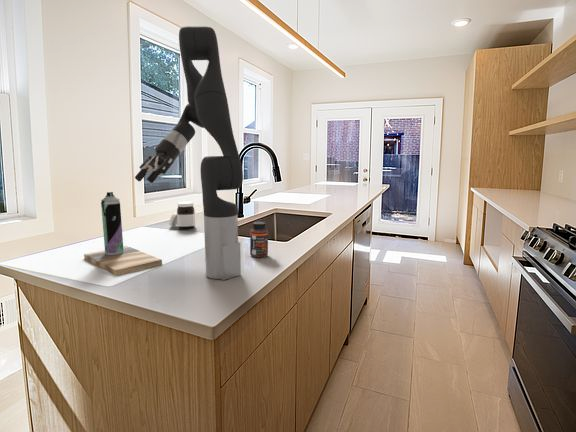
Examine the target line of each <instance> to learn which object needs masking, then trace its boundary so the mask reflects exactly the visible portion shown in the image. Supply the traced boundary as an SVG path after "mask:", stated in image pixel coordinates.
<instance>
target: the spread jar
mask: <svg viewBox="0 0 576 432" xmlns="http://www.w3.org/2000/svg"><path fill="white" fill-rule="evenodd" d="M194 207H195V206H194V202H192V201H179V202H177V209H176V212H174V213H172V215H171V217H170V218H169V219H170V220H169V222H168V224H169V226H170V227H171V228H175V227H176V226H177V229H178V230H180V231H181V230H182V231H185V230H186V231H187V230H188V231H189V230H190V231H191V230H193V229H195V228H196V216H195V215H196V213H195V212H196V211H195V208H194Z"/></svg>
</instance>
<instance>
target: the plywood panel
mask: <svg viewBox="0 0 576 432" xmlns="http://www.w3.org/2000/svg"><path fill="white" fill-rule="evenodd" d="M123 250H124V252H123V253H121V254H118V255H106V254H105V249H103V250H99V251H94V252H89V253H83V256H84V258H83V259H84V260H87V261H88V262H90V263H92V264H94V265H96V266H98V267H100V268H102V269H103V270H106V271H107V272H109V273H111V274H112V275H115V276H120V275H123V274H127V273H128V274H129V273H132V272H137V271H140V270H144V269H149V268H152V267H156V266H161V264H162V265H163V260H162V259H161V258H158V257H156V256H155V255H154V256H153V255H151V254H148V253H146V252H144V251H141V250H140V249H139V250H138V249H136V248H133V247H131V246H127V245H126V246H123Z"/></svg>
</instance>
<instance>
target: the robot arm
mask: <svg viewBox="0 0 576 432" xmlns="http://www.w3.org/2000/svg"><path fill="white" fill-rule="evenodd" d="M178 32H179V33H178V43H179V44H178V45H179V52H180V57H181V64H182V68H183V73H184V78H185V83H186V90H187V91H186V93H187V104H186V105H185V106H184V109H183V112H182V114H181V117H180V119H179V121H178V122H177V124H175V126H174V127H173V128H172V129H171V130H170V131H169V133H167V134H166V135H165V136H164V137H163V139H162V140H161V141H160V142H159V143H158V145H156V147H155V148H154V150H155V151H154V152H155V153H156V154H155V155H153V156H152V155H149V156H148V157H147V158H146V159H145V161H144V162H143V163H142V164H141V165H140V166H139V169H140V170H139V172H138V173H137V174H136V175H135V176H134V179H135V180H136V181H137V182H142V180H143V179H144V178H145V177H146V175H147V174H148V173H150V172H151V173H150V174H149V175H148V176H147V178H146V180H147V181H148V182H149V183H150V184H153V183H154V182H155V181H156V179H157V178H158V177H159V176H162V174H163V175H165V174H166V173H167V172H168V170H169V169H170V167H171V166H172V165H173V164H174V162H175V161H176V159H177V158H178V157H179V156H180V155H181V153H182V152H183V151H184V150H185V149H186V147H187V146H188V143H189V142H190V141H192V139H193V138H194V137H195V135H196V130H195V128H194V126H193V125H192V124H194V125H196V126H198V127H200V128H202V129H205V131H207V133H208V134H209V135H210V136H211V137H212V138H213V139H214V140H215V142H216V143H217V144H218V146H219V148H220V151H221V153H222V155H218V156H217V155H215V156H214V155H211V156H210V155H209V156H204V157H203V158H202V160H201V162H200V181H201V182H200V183H201V191H202V204H203V205H202V207H203V232H204V233H203V234H204V256H205V257H204V259H205V260H204V261H205V262H204V263H205V275H206V277H207V278H210V279H215V280H222V281H225V280H226V281H227V280H228V279H232V278H235V277H237V276H241V275H242V265H241V263H242V261H241V257H242V255H241V242H240V241H239V226H238V225H239V223H238V222H239V220H238V218H239V216H238V205H237V204H236V203H234V202H231V201H228V200H226V199H225V200H224V199H223V198H221V197H219V195H218V191H230V190H231V191H233V190H238V189H240V188H241V187H242V185H243V181H244V172H243V165H242V161H241V159H240V158H241V157H240V154H239V151H238V147H237V143H236V139H235V137H234V131H233V128H232V127H233V126H232V120H231V115H230V113H231V112H230V109H229V102H228V97H227V93H226V88H225V84H224V79H223V75H222V74H223V73H222V69H221V68H222V66H221V59H220V50H219V44H218V38H217V34H216V31H215V30H214V28H213V27H211V26H205V25H204V26H202V25H201V26H200V25H199V26H196V25H194V26H193V25H192V26H186V25H185V26H181V28H180V29H179V31H178ZM193 61H208V64H207V68H206V70H205V73H204V75H202V74H201V73H200V72H199V70H198V69H197V68H196V67H195V64H194V63H193ZM190 122H191V123H192V124H191V123H190Z"/></svg>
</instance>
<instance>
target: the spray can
mask: <svg viewBox="0 0 576 432" xmlns="http://www.w3.org/2000/svg"><path fill="white" fill-rule="evenodd" d="M100 201H101V202H100V207H101V216H102V217H101V218H102V220H101V221H102V231H103V244H104V250H105V254H106V255H118V254H121V253H123V252H124V250H123V247H124V238H123V226H122V225H123V224H122V212H121V211H122V209H121V201H120V198H117V197H116V195H115V194H114V192H113V191H110V192H108V191H107V192H106V195H105V197H103V198H102V199H101V200H100Z"/></svg>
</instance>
